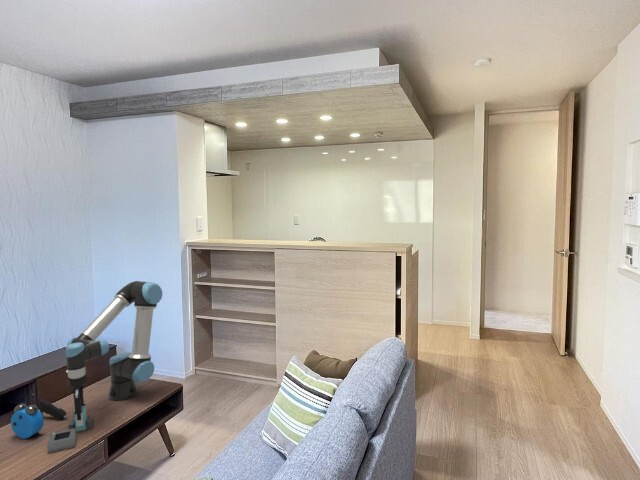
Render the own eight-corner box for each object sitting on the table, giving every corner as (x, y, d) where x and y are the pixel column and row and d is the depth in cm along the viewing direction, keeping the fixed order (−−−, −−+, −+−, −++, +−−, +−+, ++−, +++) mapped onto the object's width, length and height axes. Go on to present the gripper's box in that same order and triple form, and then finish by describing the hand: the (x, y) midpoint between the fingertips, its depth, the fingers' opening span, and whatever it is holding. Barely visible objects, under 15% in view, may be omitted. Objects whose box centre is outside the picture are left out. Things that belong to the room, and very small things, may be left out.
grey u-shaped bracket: (93, 422, 207) (92, 414, 206) (91, 428, 200) (91, 420, 200) (71, 426, 203) (70, 418, 202) (69, 433, 196) (68, 425, 196)
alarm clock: (45, 433, 197) (42, 403, 196) (33, 441, 191) (30, 409, 190) (23, 430, 200) (20, 400, 199) (11, 437, 194) (8, 406, 193)
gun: (59, 431, 210) (65, 414, 208) (33, 414, 212) (40, 398, 210) (63, 428, 212) (70, 412, 211) (38, 412, 215) (44, 396, 213)
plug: (86, 425, 204) (85, 403, 203) (85, 429, 200) (84, 407, 199) (76, 427, 202) (74, 405, 201) (75, 431, 198) (73, 409, 197)
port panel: (77, 436, 194) (76, 427, 194) (74, 447, 185) (73, 438, 185) (51, 441, 190) (51, 432, 190) (47, 453, 181) (47, 443, 181)
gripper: (70, 370, 205) (74, 416, 207) (65, 385, 189) (69, 434, 191) (87, 368, 209) (91, 412, 210) (84, 381, 192) (87, 430, 194)
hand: (80, 422), depth 201 cm, fingers open, 5 cm apart
